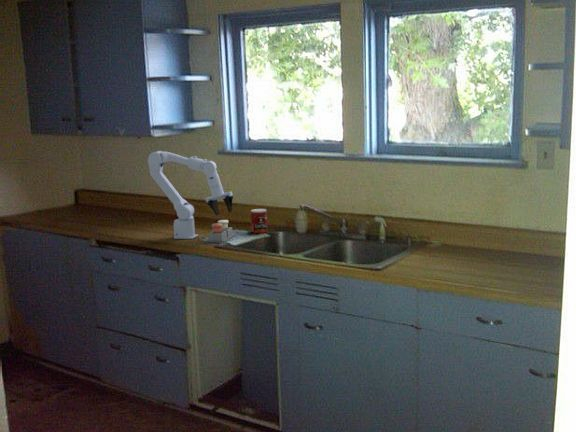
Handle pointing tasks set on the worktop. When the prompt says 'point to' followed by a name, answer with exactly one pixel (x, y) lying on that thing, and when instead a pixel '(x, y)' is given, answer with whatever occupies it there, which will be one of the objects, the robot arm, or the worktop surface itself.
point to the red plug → (217, 228)
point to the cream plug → (224, 224)
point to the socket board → (221, 236)
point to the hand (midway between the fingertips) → (224, 213)
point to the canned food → (259, 220)
